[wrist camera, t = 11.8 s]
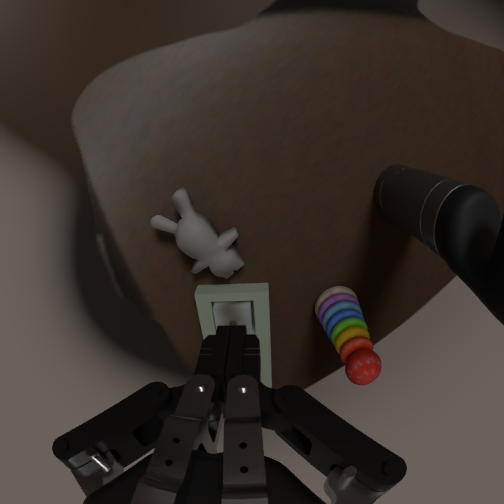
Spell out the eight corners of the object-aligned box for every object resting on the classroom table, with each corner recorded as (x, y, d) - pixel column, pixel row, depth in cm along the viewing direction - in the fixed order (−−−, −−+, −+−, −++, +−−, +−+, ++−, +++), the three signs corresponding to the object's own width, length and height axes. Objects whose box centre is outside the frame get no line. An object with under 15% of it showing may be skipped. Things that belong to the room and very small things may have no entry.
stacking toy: (330, 327, 49) (353, 405, 32) (305, 302, 47) (323, 384, 30) (363, 303, 47) (400, 376, 30) (340, 275, 45) (377, 350, 28)
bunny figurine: (213, 295, 43) (139, 233, 37) (215, 277, 47) (149, 220, 42) (258, 258, 40) (181, 186, 34) (256, 243, 44) (187, 178, 39)
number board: (268, 282, 46) (268, 292, 43) (271, 382, 56) (271, 392, 53) (198, 285, 46) (194, 294, 44) (218, 382, 57) (216, 392, 54)
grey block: (250, 294, 46) (250, 308, 43) (253, 322, 49) (252, 337, 45) (216, 295, 47) (212, 309, 43) (220, 323, 49) (217, 337, 45)
